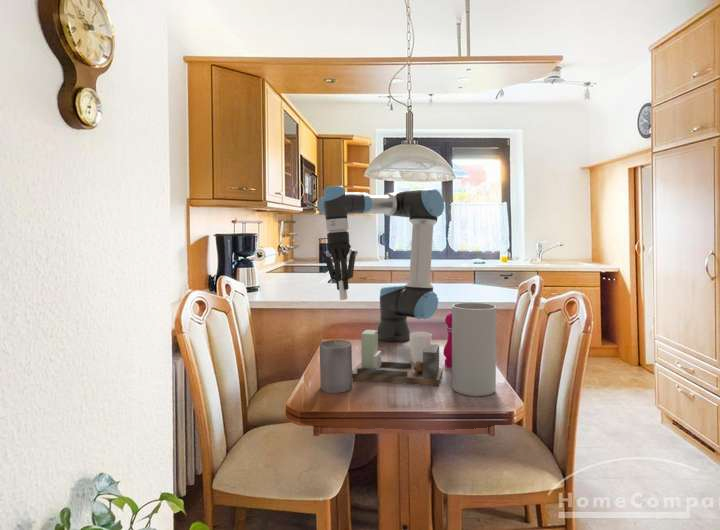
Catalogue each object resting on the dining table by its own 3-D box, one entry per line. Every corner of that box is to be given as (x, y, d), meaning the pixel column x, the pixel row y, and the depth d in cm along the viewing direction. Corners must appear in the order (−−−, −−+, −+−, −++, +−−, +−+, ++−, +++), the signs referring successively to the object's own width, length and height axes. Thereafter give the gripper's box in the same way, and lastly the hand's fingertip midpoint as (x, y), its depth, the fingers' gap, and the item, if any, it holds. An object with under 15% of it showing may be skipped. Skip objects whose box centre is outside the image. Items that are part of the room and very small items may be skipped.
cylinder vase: (468, 380, 144) (468, 301, 142) (503, 389, 135) (504, 305, 133) (443, 389, 136) (443, 306, 134) (479, 400, 127) (480, 311, 125)
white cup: (435, 360, 167) (435, 333, 166) (425, 365, 160) (425, 337, 159) (415, 357, 171) (415, 330, 170) (405, 362, 165) (405, 334, 164)
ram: (361, 370, 148) (360, 334, 147) (366, 364, 154) (366, 329, 153) (376, 371, 146) (376, 334, 145) (381, 365, 153) (380, 330, 152)
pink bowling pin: (464, 368, 156) (464, 310, 155) (443, 367, 157) (443, 310, 156) (464, 362, 163) (464, 307, 162) (443, 361, 165) (443, 306, 163)
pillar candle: (328, 381, 145) (327, 334, 144) (357, 384, 141) (356, 336, 140) (314, 391, 136) (313, 342, 135) (345, 395, 132) (343, 344, 131)
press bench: (350, 379, 146) (349, 348, 145) (360, 368, 158) (359, 340, 157) (439, 386, 139) (439, 353, 138) (442, 374, 150) (442, 344, 150)
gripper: (315, 233, 157) (322, 301, 159) (350, 230, 152) (356, 300, 154) (326, 232, 164) (331, 297, 166) (359, 229, 159) (365, 297, 160)
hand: (343, 299), depth 160 cm, fingers closed
